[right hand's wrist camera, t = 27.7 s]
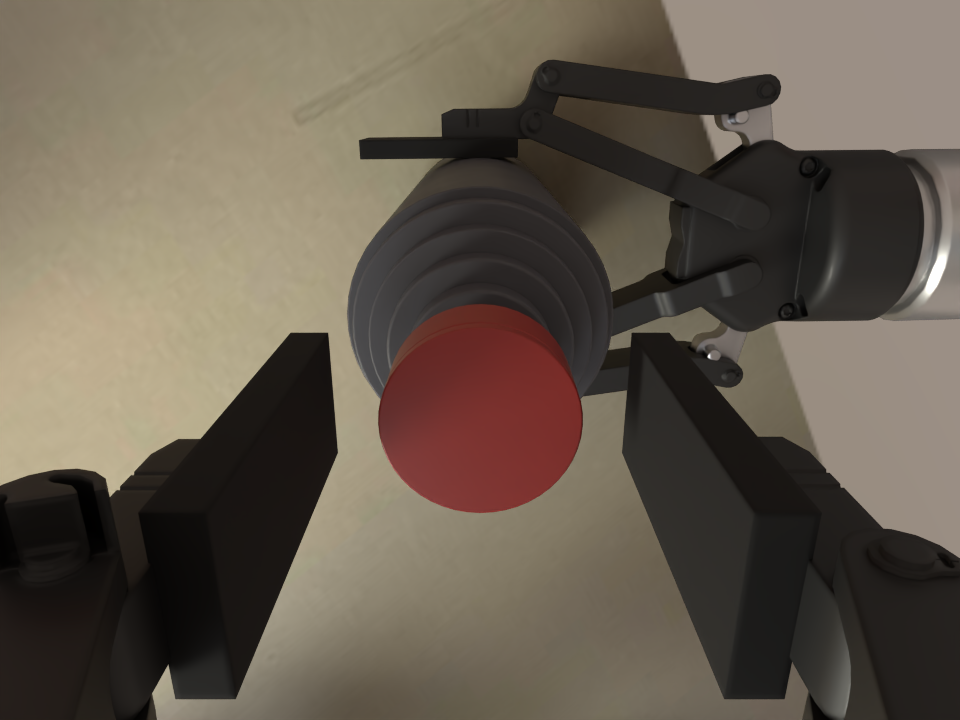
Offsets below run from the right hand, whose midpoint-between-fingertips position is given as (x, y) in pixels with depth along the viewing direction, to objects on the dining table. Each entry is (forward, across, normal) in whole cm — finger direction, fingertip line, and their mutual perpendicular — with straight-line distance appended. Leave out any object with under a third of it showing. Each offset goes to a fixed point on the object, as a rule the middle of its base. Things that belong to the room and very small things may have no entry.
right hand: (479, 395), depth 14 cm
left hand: (+18, -5, 0) cm, 18 cm away
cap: (-1, 0, 0) cm, 1 cm away
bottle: (+24, 0, 0) cm, 24 cm away
